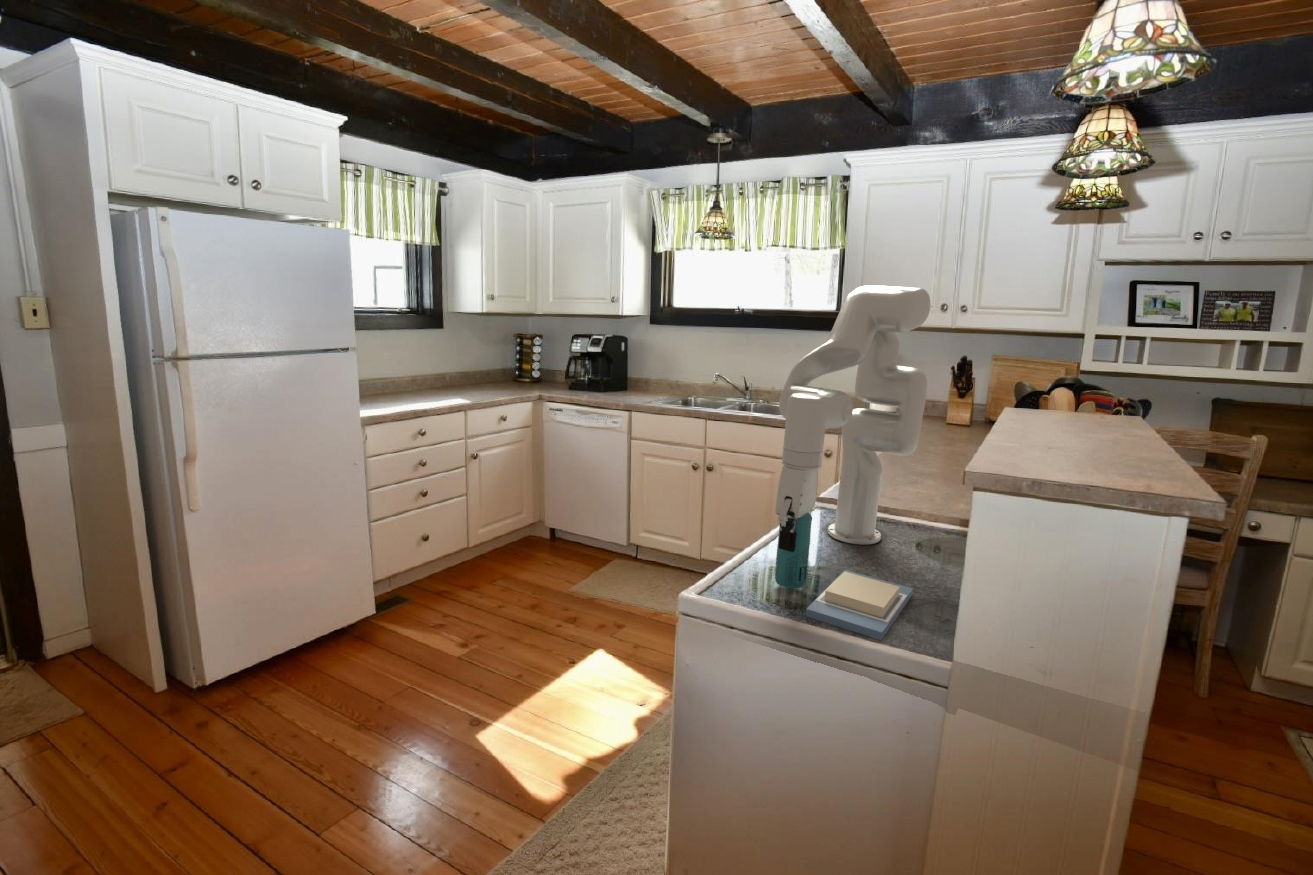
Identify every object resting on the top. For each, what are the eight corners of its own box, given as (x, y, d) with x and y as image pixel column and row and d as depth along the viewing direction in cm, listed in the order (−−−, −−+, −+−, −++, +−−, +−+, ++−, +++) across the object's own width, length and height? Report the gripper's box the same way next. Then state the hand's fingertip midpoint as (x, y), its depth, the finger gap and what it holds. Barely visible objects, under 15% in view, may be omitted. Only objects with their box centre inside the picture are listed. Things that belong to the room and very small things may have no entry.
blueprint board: (844, 576, 147) (846, 560, 146) (912, 595, 139) (914, 579, 139) (805, 616, 129) (807, 598, 128) (881, 640, 121) (883, 621, 121)
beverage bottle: (799, 599, 135) (809, 502, 131) (767, 589, 139) (776, 494, 134) (810, 587, 141) (820, 493, 136) (780, 578, 144) (788, 486, 139)
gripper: (800, 445, 142) (792, 527, 147) (765, 462, 128) (757, 553, 132) (836, 452, 138) (827, 536, 143) (803, 470, 124) (794, 563, 128)
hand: (793, 543), depth 138 cm, fingers closed on beverage bottle, 6 cm apart
